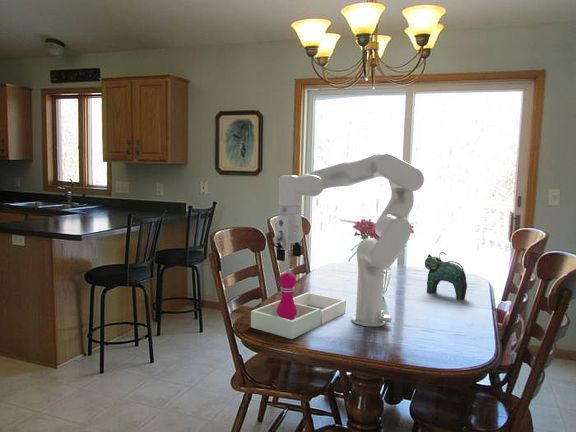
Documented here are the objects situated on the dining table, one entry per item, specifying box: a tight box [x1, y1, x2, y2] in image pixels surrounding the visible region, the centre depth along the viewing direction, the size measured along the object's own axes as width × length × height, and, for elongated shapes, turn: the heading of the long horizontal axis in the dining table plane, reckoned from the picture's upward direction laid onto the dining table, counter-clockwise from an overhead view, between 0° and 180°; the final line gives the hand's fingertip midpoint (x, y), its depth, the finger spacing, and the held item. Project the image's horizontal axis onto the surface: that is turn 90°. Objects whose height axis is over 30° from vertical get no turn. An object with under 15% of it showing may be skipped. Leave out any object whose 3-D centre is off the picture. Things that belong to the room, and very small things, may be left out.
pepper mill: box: [277, 268, 297, 320], centre depth 168 cm, size 7×7×20 cm
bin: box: [250, 299, 322, 340], centre depth 169 cm, size 18×18×6 cm
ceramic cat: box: [424, 251, 468, 301], centre depth 215 cm, size 20×6×20 cm, turn 41°
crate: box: [293, 291, 347, 325], centre depth 184 cm, size 18×18×5 cm
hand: (288, 258), depth 166 cm, fingers open, 9 cm apart
